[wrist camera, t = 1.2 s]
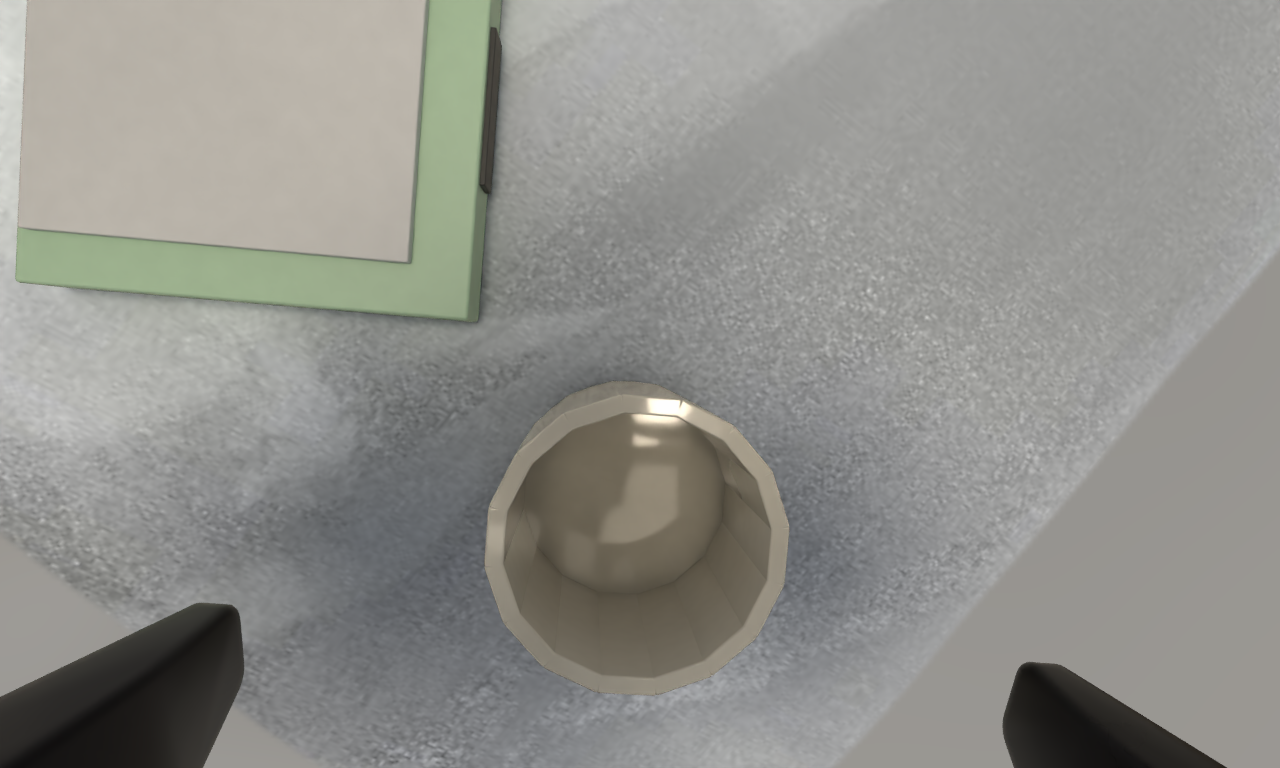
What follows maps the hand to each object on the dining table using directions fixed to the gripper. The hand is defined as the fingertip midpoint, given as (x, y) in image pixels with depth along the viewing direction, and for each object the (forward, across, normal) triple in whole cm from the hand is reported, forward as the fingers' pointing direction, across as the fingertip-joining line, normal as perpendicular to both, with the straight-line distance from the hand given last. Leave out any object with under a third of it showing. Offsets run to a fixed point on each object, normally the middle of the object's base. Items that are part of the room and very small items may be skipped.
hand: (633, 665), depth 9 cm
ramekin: (+13, 0, +4) cm, 13 cm away
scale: (+15, +10, -6) cm, 19 cm away
